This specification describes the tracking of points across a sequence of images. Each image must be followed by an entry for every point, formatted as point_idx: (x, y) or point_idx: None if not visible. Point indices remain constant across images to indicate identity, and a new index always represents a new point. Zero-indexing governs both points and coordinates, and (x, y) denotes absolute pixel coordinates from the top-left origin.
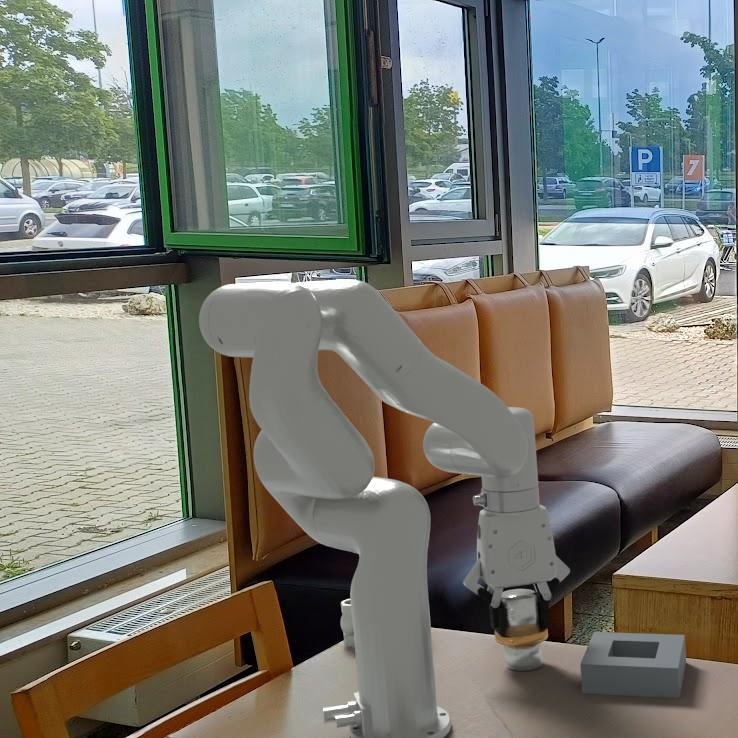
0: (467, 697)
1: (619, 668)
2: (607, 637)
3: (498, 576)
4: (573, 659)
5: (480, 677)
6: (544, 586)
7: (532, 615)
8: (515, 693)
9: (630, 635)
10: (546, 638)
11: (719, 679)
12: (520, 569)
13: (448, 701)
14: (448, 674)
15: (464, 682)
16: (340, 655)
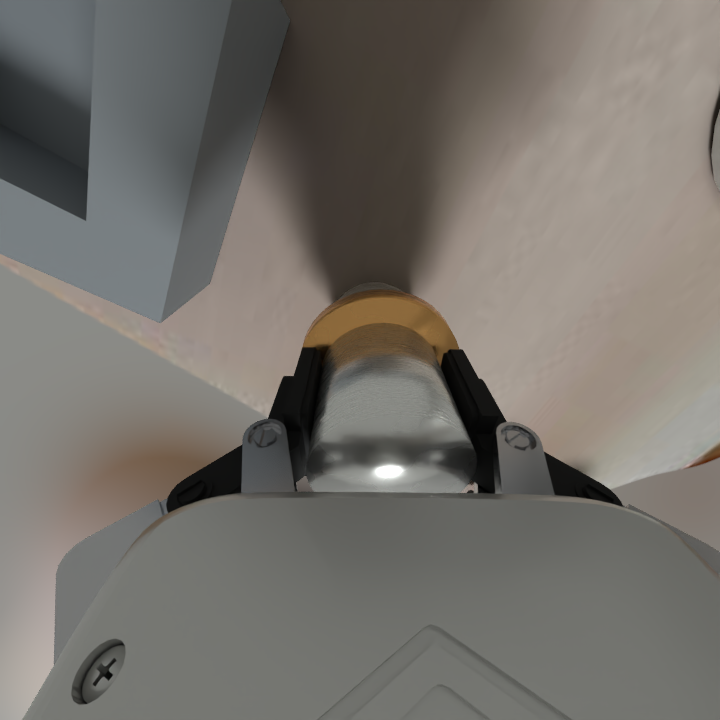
0: (558, 229)
1: None
2: (111, 259)
3: (657, 598)
4: (253, 342)
5: (465, 328)
6: (261, 478)
7: (356, 366)
8: (444, 202)
9: (22, 242)
10: (316, 318)
11: None
12: (453, 648)
13: (611, 223)
14: (510, 364)
15: (508, 316)
16: (597, 478)
